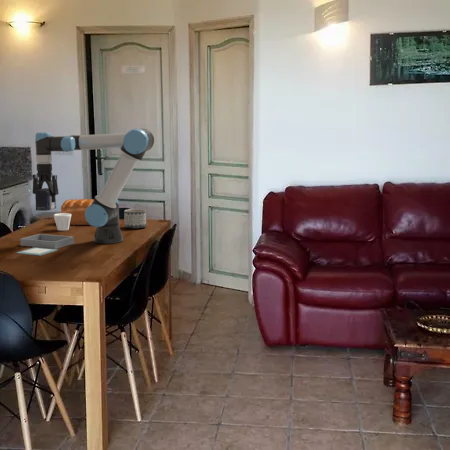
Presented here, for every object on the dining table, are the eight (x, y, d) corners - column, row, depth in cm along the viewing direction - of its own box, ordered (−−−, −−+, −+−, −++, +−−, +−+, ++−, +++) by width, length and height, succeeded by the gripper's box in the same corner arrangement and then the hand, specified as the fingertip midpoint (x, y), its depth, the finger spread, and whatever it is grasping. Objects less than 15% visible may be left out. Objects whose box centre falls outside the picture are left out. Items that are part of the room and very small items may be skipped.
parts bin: (73, 243, 342) (73, 236, 342) (55, 248, 328) (55, 242, 327) (40, 240, 350) (39, 233, 350) (20, 245, 336) (20, 238, 336)
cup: (55, 232, 374) (54, 216, 373) (53, 229, 383) (52, 213, 382) (73, 231, 378) (72, 215, 376) (70, 228, 387) (69, 212, 386)
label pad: (58, 250, 325) (58, 249, 325) (39, 255, 312) (39, 254, 312) (34, 247, 330) (34, 247, 330) (16, 253, 317) (16, 252, 317)
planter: (142, 230, 383) (142, 212, 381) (121, 229, 385) (121, 211, 383) (148, 226, 395) (148, 209, 393) (128, 225, 397) (128, 208, 395)
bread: (64, 221, 411) (63, 197, 408) (106, 222, 410) (106, 197, 408) (58, 225, 397) (57, 200, 395) (101, 226, 396) (101, 200, 394)
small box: (47, 211, 330) (46, 190, 329) (35, 210, 332) (34, 190, 330) (56, 208, 341) (55, 187, 339) (45, 207, 342) (44, 187, 340)
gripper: (65, 163, 332) (66, 208, 336) (32, 162, 339) (35, 206, 343) (55, 164, 325) (57, 210, 329) (23, 163, 333) (25, 208, 336)
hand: (46, 208), depth 336 cm, fingers closed on small box, 7 cm apart
